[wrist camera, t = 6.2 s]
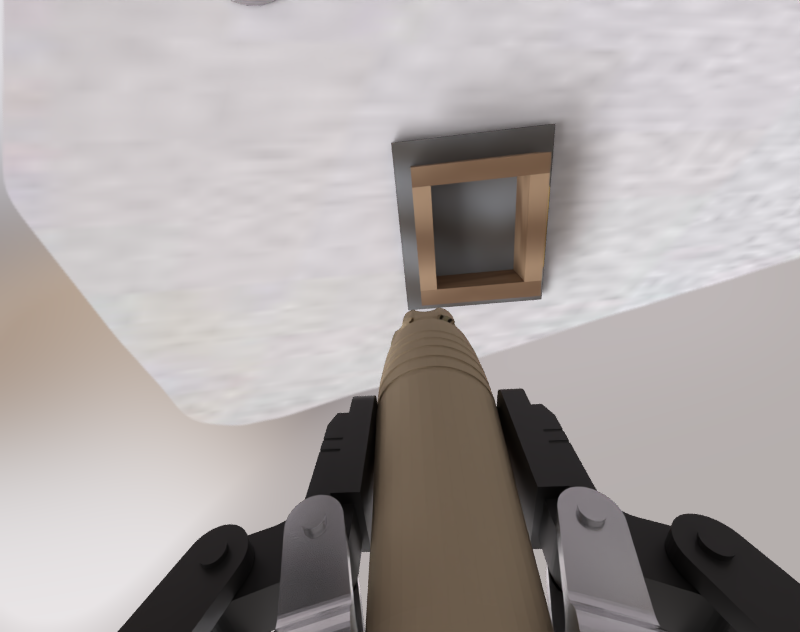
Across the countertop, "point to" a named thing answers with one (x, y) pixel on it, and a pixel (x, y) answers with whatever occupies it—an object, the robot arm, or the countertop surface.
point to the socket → (474, 215)
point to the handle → (445, 496)
